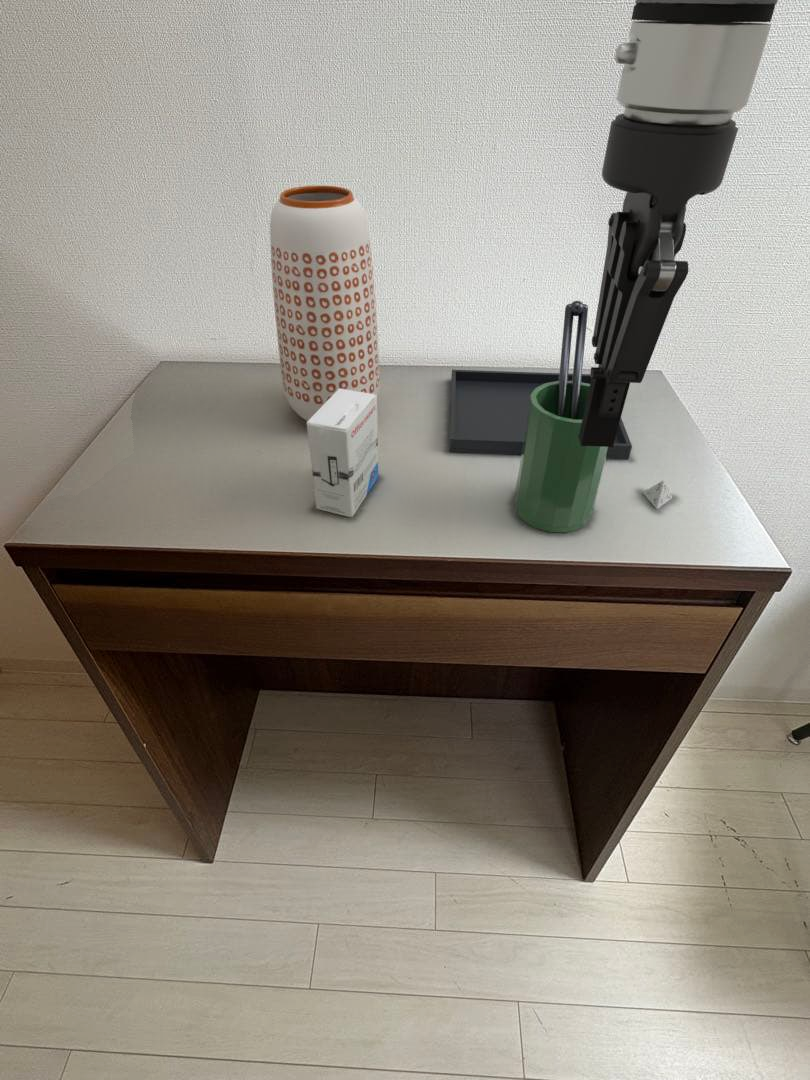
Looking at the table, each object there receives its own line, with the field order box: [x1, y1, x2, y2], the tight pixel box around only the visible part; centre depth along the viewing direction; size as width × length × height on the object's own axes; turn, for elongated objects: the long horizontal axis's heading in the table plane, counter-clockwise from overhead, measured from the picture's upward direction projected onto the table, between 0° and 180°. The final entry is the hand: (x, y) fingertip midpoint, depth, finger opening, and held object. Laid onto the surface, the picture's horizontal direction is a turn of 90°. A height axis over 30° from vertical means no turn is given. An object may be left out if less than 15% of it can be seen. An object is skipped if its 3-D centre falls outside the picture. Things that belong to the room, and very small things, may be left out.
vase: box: [269, 185, 381, 422], centre depth 79 cm, size 13×13×28 cm
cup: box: [514, 381, 609, 533], centre depth 68 cm, size 9×9×14 cm
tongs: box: [556, 300, 589, 420], centre depth 66 cm, size 2×11×21 cm, turn 175°
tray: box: [449, 369, 633, 460], centre depth 88 cm, size 23×20×2 cm
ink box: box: [306, 388, 379, 518], centre depth 70 cm, size 9×5×12 cm, turn 160°
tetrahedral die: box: [642, 480, 673, 510], centre depth 72 cm, size 4×3×3 cm
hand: (595, 441), depth 54 cm, fingers closed
